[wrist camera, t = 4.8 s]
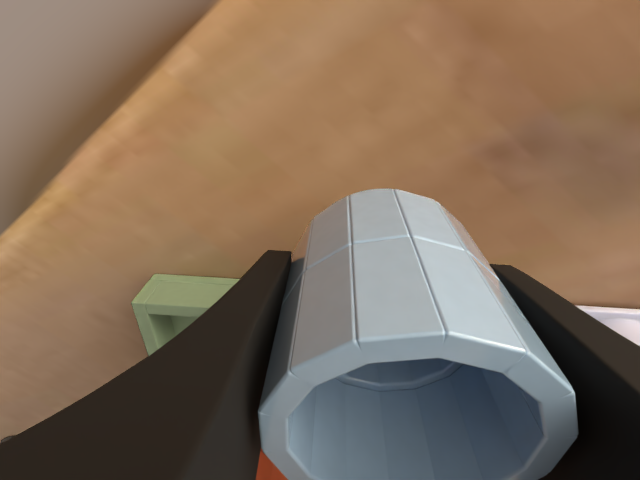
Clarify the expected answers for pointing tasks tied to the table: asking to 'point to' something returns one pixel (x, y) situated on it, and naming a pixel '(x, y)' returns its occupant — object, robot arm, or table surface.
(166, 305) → the tray
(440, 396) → the pale blue cup
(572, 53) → the table surface
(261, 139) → the table surface
